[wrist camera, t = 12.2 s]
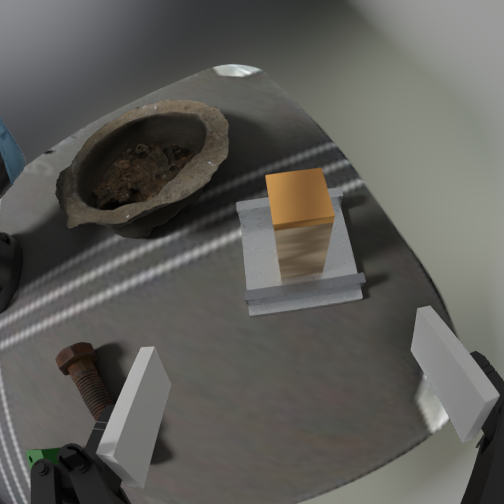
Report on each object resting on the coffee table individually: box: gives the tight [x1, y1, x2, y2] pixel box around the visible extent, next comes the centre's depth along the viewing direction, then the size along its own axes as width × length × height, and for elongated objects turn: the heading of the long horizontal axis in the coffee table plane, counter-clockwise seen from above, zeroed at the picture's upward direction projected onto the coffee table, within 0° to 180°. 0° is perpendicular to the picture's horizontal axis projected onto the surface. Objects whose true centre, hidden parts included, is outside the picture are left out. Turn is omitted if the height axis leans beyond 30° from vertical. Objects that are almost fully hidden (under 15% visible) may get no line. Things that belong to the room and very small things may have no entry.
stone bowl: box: [55, 100, 229, 239], centre depth 38 cm, size 25×25×9 cm
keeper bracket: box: [236, 187, 366, 318], centre depth 33 cm, size 12×13×4 cm
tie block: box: [265, 168, 335, 279], centre depth 28 cm, size 4×4×12 cm
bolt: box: [55, 342, 115, 421], centre depth 28 cm, size 6×5×15 cm
